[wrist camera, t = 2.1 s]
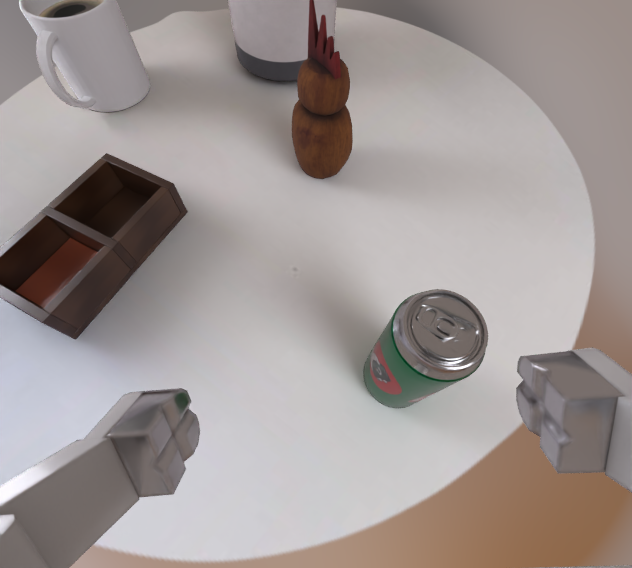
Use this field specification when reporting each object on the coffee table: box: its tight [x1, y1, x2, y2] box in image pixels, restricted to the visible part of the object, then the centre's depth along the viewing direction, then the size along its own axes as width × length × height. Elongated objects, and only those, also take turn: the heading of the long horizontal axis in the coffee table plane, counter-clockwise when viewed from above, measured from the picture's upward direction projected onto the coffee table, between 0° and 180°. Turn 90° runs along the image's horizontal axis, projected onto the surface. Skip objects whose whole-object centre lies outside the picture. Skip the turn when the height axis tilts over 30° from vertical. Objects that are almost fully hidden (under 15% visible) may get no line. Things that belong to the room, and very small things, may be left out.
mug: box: [19, 0, 150, 112], centre depth 39 cm, size 11×10×10 cm
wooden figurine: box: [292, 0, 353, 179], centre depth 32 cm, size 7×6×15 cm
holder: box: [0, 153, 187, 339], centre depth 31 cm, size 15×8×4 cm, turn 152°
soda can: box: [363, 289, 488, 408], centre depth 23 cm, size 5×5×12 cm
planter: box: [228, 0, 337, 81], centre depth 42 cm, size 13×13×10 cm
